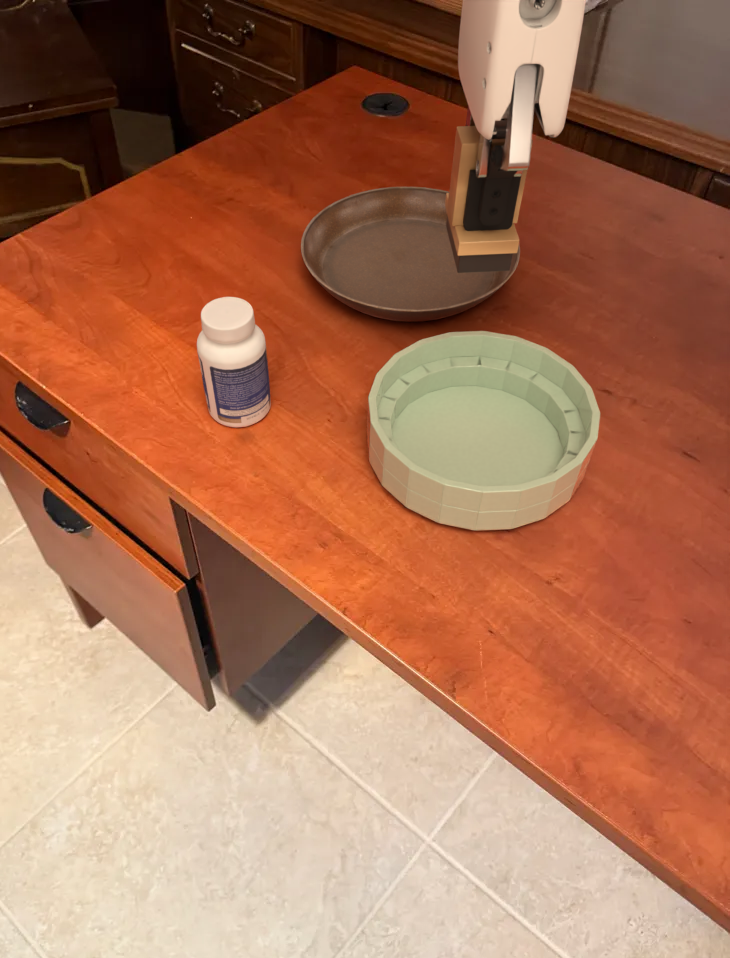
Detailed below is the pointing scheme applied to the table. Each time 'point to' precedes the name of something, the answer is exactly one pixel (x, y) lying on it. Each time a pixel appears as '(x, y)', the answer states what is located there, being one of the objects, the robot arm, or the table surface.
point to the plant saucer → (394, 256)
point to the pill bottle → (233, 363)
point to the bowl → (480, 429)
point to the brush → (467, 246)
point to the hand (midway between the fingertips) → (483, 213)
